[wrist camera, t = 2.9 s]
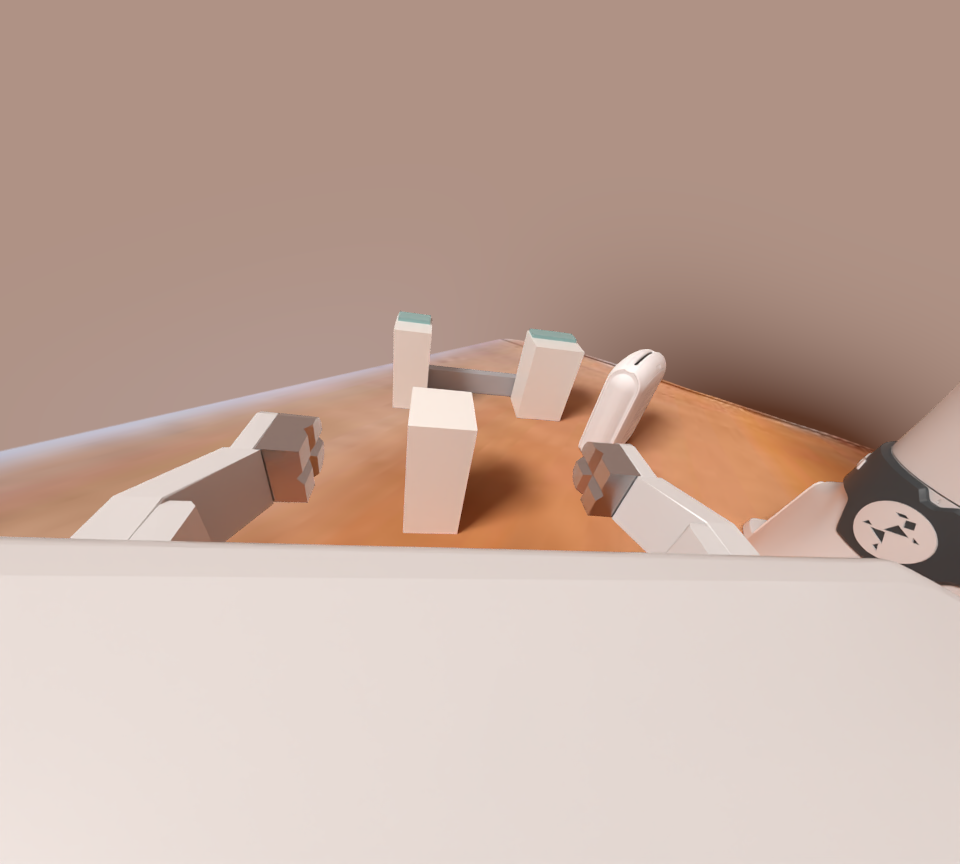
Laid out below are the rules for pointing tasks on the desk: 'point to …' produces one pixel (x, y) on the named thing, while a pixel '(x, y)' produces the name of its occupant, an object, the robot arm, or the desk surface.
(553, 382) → the din mount
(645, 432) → the desk surface
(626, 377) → the photo printer
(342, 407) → the desk surface
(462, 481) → the block
